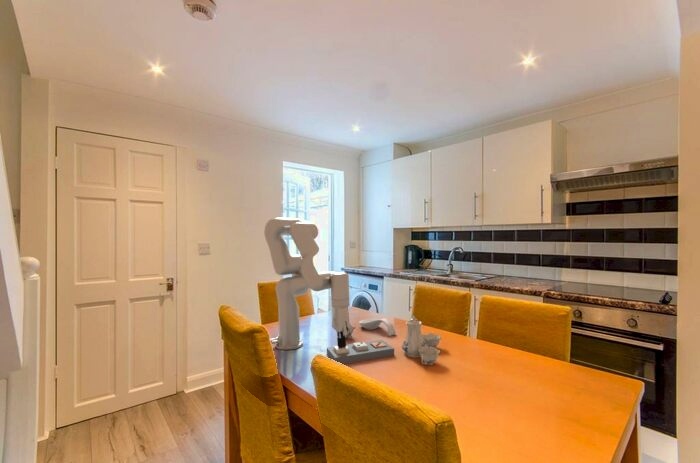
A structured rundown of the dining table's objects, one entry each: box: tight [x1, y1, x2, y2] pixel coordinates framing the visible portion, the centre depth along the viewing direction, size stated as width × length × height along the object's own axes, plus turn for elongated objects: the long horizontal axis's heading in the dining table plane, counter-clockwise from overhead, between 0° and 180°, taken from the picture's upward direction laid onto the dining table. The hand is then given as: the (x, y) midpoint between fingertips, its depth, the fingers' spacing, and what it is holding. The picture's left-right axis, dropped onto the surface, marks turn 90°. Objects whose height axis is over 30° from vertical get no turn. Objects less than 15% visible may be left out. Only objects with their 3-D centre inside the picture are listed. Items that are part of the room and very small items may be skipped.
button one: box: [333, 344, 349, 354], centre depth 134 cm, size 5×5×3 cm
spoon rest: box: [358, 318, 396, 337], centre depth 172 cm, size 24×12×7 cm, turn 37°
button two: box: [352, 341, 368, 351], centre depth 137 cm, size 5×5×3 cm
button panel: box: [326, 339, 395, 365], centre depth 137 cm, size 26×12×3 cm, turn 110°
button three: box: [371, 342, 386, 348], centre depth 140 cm, size 5×5×3 cm
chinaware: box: [401, 315, 442, 366], centre depth 136 cm, size 28×17×17 cm, turn 168°
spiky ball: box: [335, 322, 355, 338], centre depth 160 cm, size 9×8×10 cm
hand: (341, 346), depth 134 cm, fingers closed
